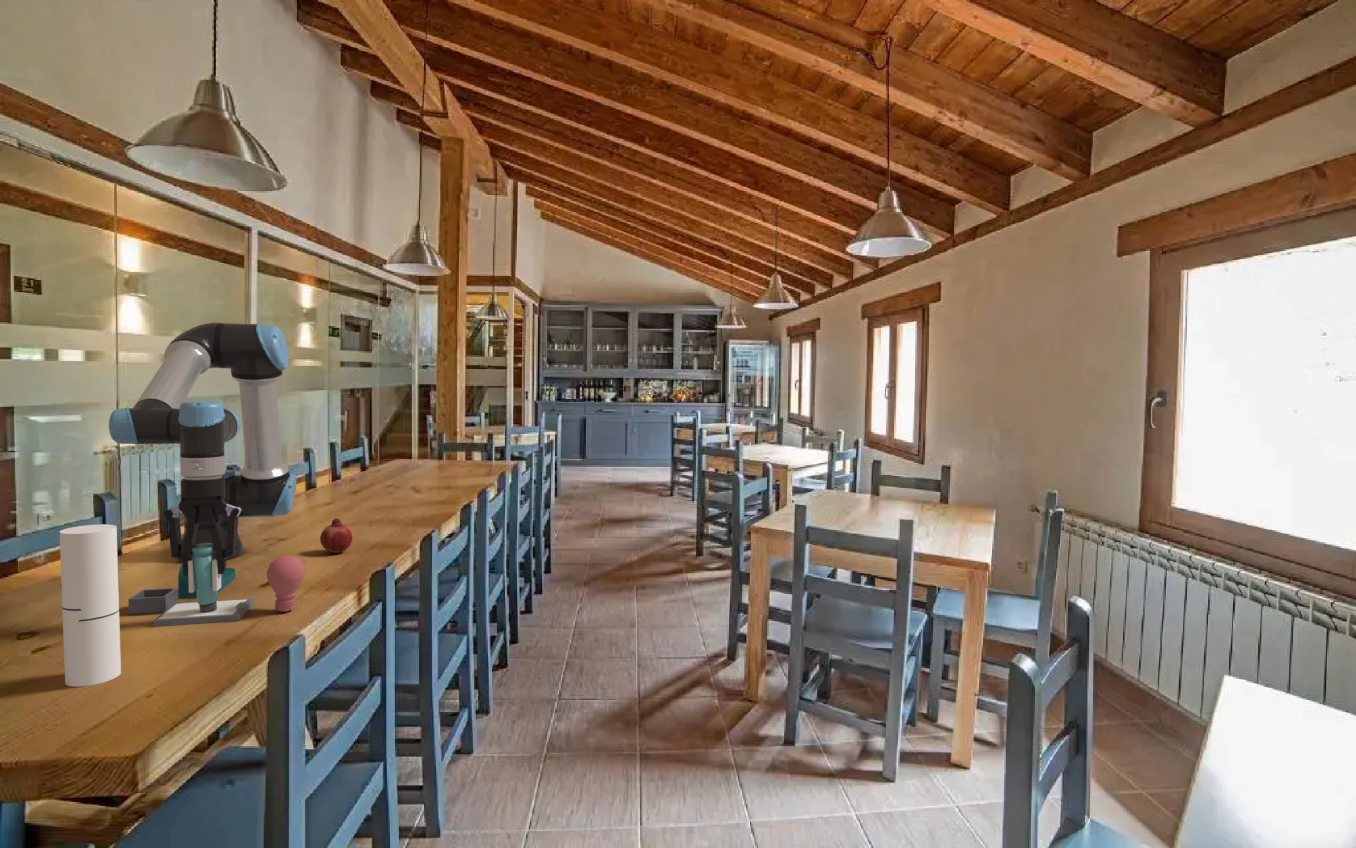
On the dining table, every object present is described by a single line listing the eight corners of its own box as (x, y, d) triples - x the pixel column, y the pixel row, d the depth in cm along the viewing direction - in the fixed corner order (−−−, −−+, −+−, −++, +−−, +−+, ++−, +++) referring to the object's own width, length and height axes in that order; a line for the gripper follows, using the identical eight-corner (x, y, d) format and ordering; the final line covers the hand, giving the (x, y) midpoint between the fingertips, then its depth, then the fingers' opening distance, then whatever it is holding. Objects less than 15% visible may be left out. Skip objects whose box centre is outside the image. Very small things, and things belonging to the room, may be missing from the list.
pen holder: (143, 605, 152) (142, 589, 152) (178, 603, 154) (178, 587, 154) (128, 615, 146) (128, 599, 145) (166, 613, 148) (165, 597, 147)
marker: (201, 605, 147) (196, 543, 144) (222, 604, 148) (217, 542, 145) (194, 614, 144) (188, 550, 141) (215, 613, 145) (210, 549, 142)
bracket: (213, 598, 159) (212, 563, 158) (178, 600, 157) (177, 565, 156) (239, 576, 176) (238, 545, 175) (208, 577, 174) (208, 546, 174)
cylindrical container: (86, 668, 120) (81, 524, 118) (131, 668, 120) (126, 524, 119) (53, 687, 113) (47, 533, 111) (100, 686, 113) (95, 534, 112)
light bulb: (313, 608, 153) (312, 554, 152) (285, 618, 146) (284, 562, 145) (288, 604, 155) (287, 550, 154) (259, 614, 148) (258, 558, 147)
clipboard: (175, 608, 150) (174, 600, 150) (254, 603, 155) (254, 595, 155) (153, 626, 140) (152, 617, 140) (238, 620, 144) (238, 612, 144)
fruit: (347, 548, 205) (346, 514, 204) (356, 553, 199) (356, 519, 198) (317, 552, 199) (316, 517, 199) (325, 558, 193) (325, 522, 193)
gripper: (147, 480, 137) (150, 598, 138) (243, 479, 142) (245, 593, 143) (163, 475, 144) (165, 587, 145) (254, 473, 149) (256, 582, 150)
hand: (205, 589), depth 144 cm, fingers closed on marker, 3 cm apart
